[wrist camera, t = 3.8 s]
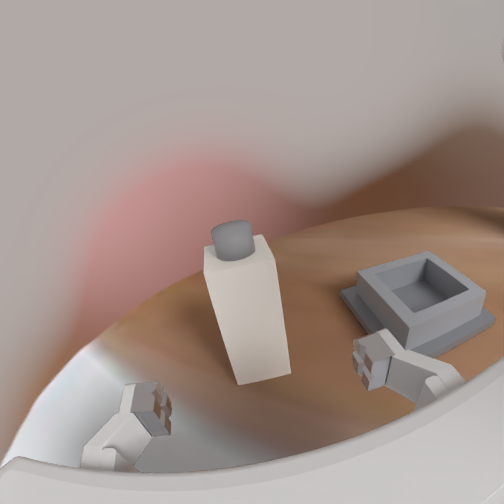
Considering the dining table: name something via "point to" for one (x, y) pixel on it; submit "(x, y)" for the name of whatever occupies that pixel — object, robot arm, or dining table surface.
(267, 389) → the dining table surface
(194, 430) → the dining table surface
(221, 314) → the spigot peg
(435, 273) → the socket dock
